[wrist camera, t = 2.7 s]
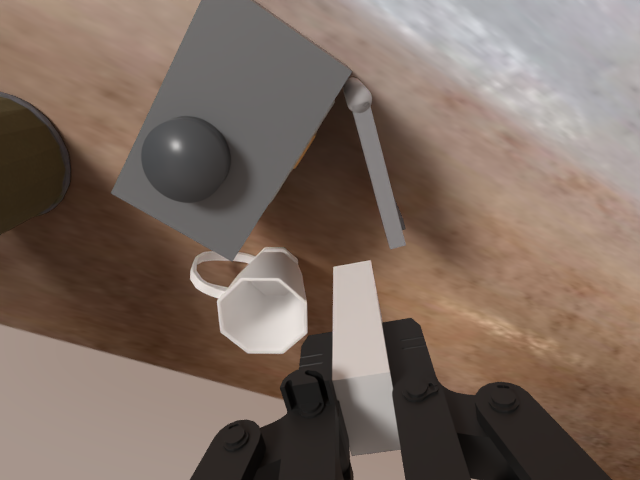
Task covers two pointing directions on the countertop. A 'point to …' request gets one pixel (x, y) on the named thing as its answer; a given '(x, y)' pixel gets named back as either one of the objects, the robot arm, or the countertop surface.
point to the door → (374, 160)
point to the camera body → (229, 123)
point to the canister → (29, 163)
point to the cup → (260, 300)
